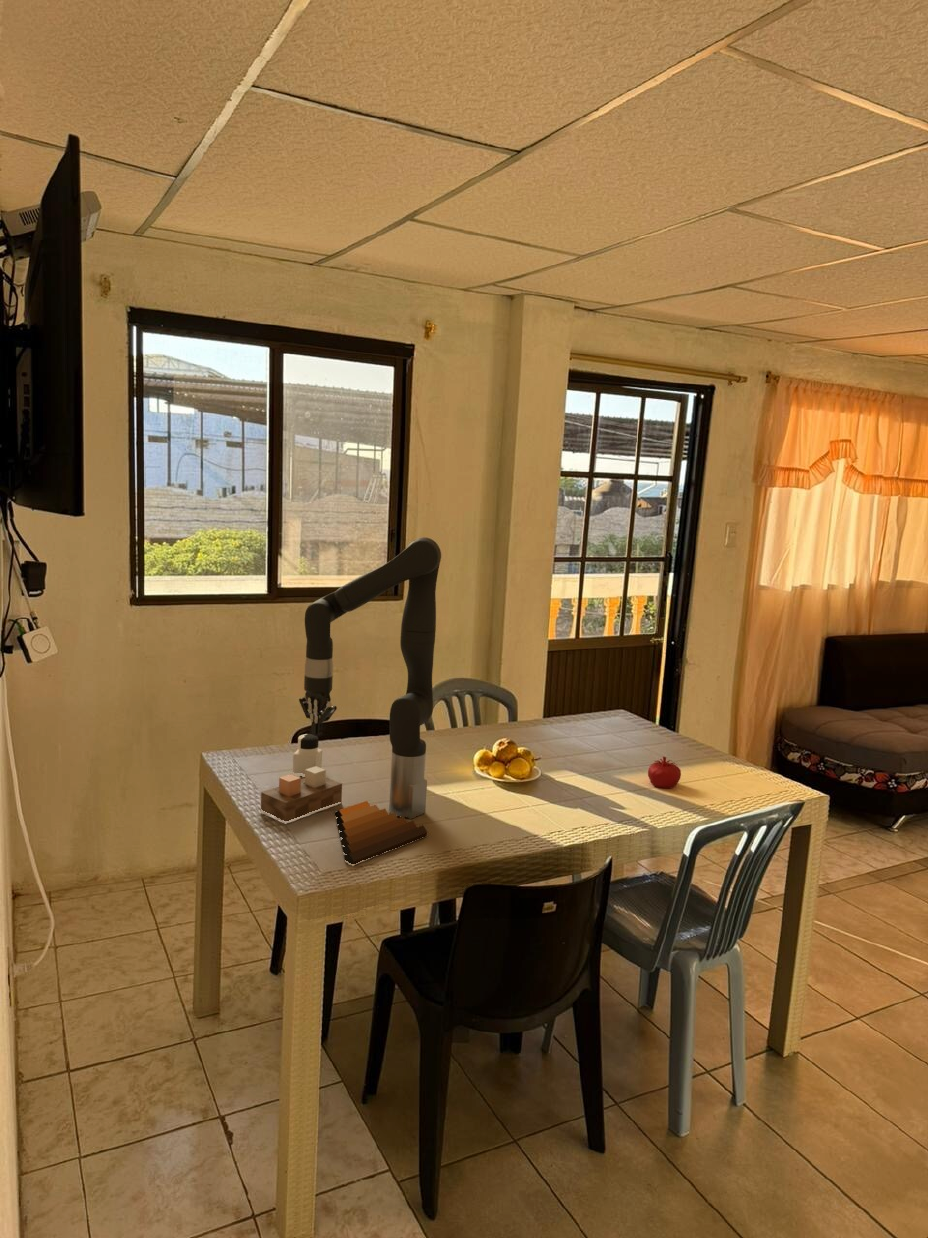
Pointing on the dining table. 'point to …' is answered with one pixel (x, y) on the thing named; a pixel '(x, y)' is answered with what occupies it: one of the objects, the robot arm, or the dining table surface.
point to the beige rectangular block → (315, 777)
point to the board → (301, 800)
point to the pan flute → (373, 831)
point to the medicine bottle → (307, 754)
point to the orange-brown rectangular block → (289, 785)
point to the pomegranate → (664, 774)
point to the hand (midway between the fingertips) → (316, 735)
